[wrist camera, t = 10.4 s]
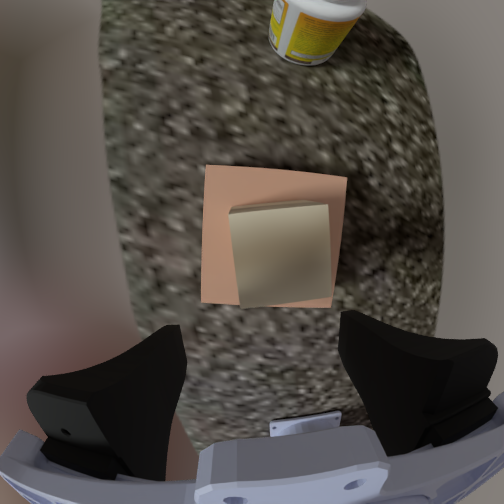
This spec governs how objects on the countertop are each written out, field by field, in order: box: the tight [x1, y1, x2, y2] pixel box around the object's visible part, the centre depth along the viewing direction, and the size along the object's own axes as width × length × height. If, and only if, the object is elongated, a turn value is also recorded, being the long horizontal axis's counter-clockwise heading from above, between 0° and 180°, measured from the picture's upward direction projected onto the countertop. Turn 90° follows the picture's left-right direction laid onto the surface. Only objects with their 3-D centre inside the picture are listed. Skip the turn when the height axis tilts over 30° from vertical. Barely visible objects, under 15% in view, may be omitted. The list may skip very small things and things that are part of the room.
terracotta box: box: [201, 165, 347, 308], centre depth 19 cm, size 9×9×4 cm
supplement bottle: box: [269, 0, 367, 65], centre depth 12 cm, size 6×6×10 cm
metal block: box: [228, 200, 332, 309], centre depth 15 cm, size 4×4×5 cm
